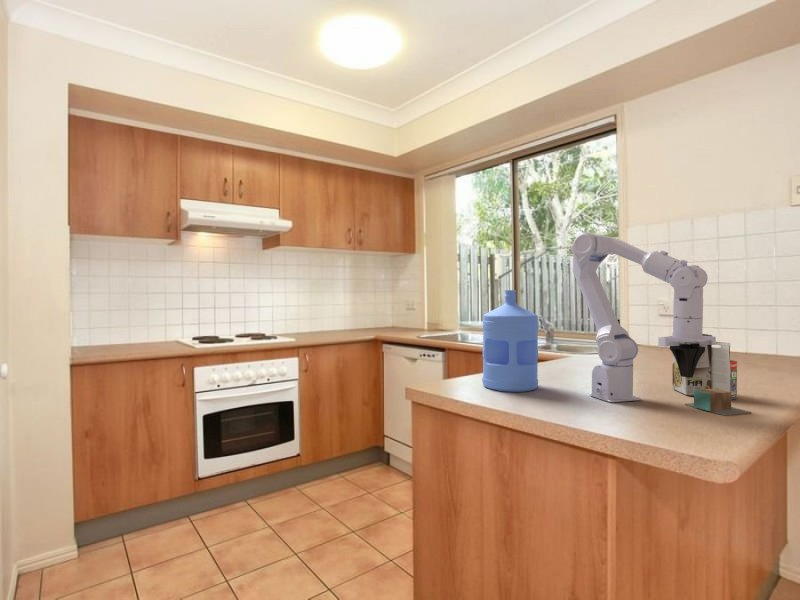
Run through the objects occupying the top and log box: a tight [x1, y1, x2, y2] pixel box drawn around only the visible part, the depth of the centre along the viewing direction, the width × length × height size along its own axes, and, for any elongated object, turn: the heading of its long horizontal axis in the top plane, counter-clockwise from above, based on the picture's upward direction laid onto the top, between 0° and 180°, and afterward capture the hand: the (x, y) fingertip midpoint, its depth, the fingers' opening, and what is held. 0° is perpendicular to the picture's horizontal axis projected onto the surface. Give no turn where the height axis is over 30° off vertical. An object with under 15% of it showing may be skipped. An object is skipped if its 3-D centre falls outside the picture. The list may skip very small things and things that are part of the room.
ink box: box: [711, 341, 738, 400], centre depth 119 cm, size 4×8×15 cm, turn 27°
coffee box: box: [671, 332, 713, 396], centre depth 123 cm, size 9×6×16 cm
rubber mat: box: [684, 402, 752, 417], centre depth 106 cm, size 8×10×1 cm
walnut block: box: [693, 389, 732, 412], centre depth 106 cm, size 4×4×6 cm
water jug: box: [481, 289, 539, 393], centre depth 131 cm, size 16×16×28 cm
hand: (686, 376), depth 104 cm, fingers closed
